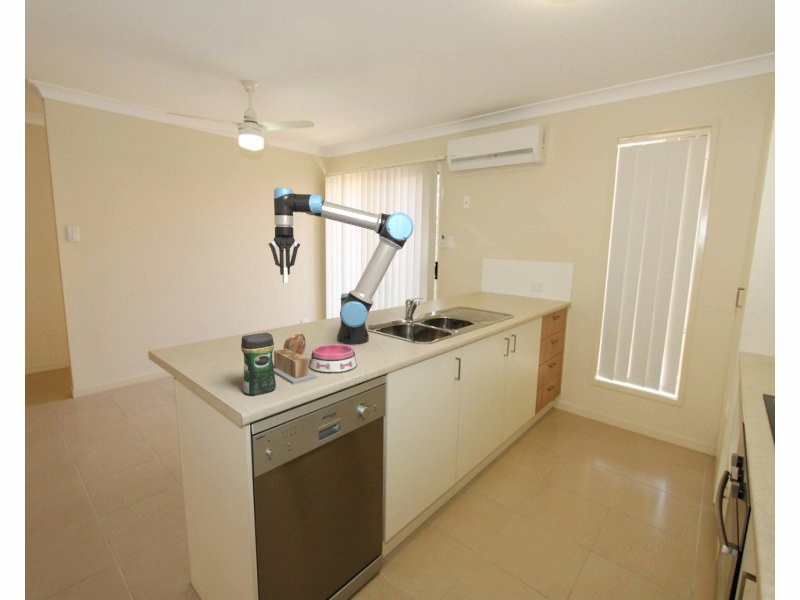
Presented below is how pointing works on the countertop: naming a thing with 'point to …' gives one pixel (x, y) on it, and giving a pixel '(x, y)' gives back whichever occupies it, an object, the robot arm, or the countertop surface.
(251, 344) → the coffee jar
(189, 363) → the countertop surface
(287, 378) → the mat
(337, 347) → the dog bowl
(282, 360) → the walnut block
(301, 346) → the tin
